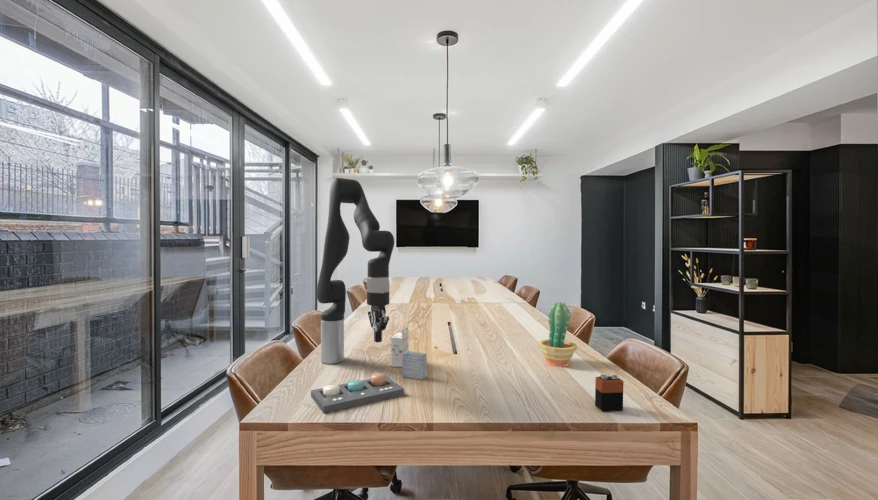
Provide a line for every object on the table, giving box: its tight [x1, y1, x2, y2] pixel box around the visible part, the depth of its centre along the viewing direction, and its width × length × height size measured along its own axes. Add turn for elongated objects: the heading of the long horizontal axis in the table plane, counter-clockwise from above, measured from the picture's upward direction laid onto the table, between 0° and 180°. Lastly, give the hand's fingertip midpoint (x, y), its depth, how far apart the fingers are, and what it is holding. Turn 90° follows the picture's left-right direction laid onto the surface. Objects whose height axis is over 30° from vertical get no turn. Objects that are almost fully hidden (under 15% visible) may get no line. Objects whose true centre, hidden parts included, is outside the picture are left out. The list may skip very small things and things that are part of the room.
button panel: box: [310, 375, 405, 414], centre depth 126 cm, size 14×26×2 cm, turn 122°
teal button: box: [347, 379, 364, 392], centre depth 127 cm, size 5×5×3 cm
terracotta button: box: [370, 372, 387, 387], centre depth 132 cm, size 5×5×3 cm
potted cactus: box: [538, 301, 578, 367], centre depth 161 cm, size 15×15×25 cm
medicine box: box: [402, 350, 428, 381], centre depth 144 cm, size 8×4×9 cm, turn 65°
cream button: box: [322, 384, 340, 398], centre depth 123 cm, size 5×5×3 cm
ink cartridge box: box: [390, 326, 409, 368], centre depth 158 cm, size 9×5×15 cm, turn 168°
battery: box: [594, 374, 624, 412], centre depth 118 cm, size 4×7×10 cm, turn 96°
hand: (378, 341), depth 131 cm, fingers closed
